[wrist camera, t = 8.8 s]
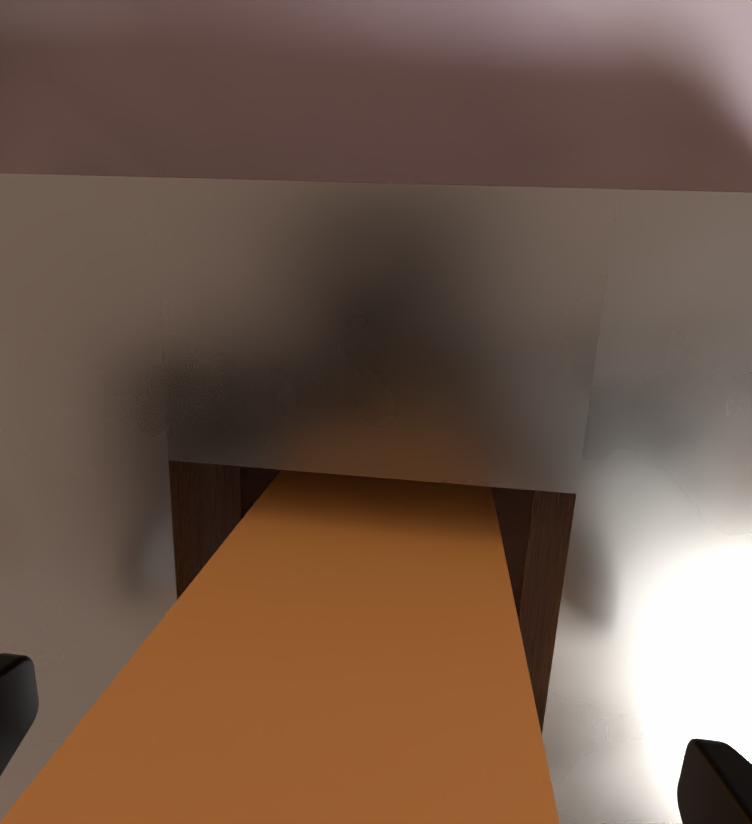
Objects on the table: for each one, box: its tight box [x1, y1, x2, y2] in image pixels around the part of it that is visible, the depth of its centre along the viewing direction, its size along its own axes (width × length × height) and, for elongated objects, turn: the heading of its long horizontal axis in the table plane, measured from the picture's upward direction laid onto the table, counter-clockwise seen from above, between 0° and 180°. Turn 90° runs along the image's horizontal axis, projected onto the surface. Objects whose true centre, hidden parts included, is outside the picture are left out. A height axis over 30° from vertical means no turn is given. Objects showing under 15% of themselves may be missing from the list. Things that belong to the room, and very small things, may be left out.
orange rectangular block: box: [0, 470, 560, 824], centre depth 8 cm, size 4×4×8 cm
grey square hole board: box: [0, 173, 752, 824], centre depth 10 cm, size 14×14×3 cm
